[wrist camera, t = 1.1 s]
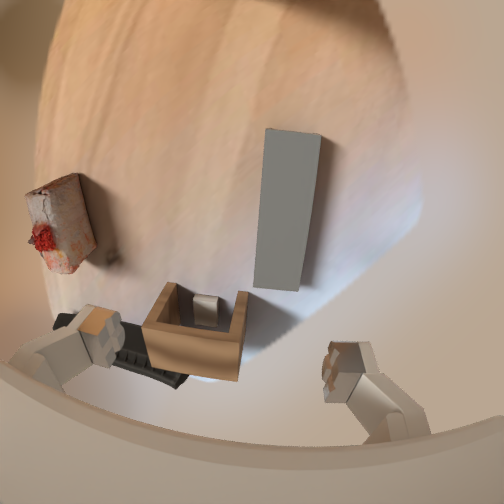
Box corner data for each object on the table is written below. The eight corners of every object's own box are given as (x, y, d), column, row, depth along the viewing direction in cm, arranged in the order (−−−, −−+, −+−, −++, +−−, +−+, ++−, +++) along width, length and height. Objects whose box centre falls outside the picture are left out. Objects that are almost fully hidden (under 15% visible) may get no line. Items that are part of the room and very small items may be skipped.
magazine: (209, 380, 39) (34, 371, 32) (209, 392, 41) (41, 383, 34) (201, 309, 54) (60, 307, 47) (201, 321, 55) (64, 319, 48)
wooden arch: (167, 282, 42) (141, 327, 33) (248, 291, 41) (239, 343, 32) (172, 321, 46) (151, 366, 37) (245, 331, 45) (237, 381, 36)
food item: (105, 252, 41) (71, 286, 32) (71, 253, 42) (38, 284, 33) (83, 169, 35) (39, 189, 26) (50, 178, 36) (8, 199, 27)
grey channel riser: (266, 127, 31) (265, 129, 28) (317, 133, 30) (321, 135, 28) (254, 275, 40) (253, 287, 37) (297, 279, 40) (298, 291, 37)
